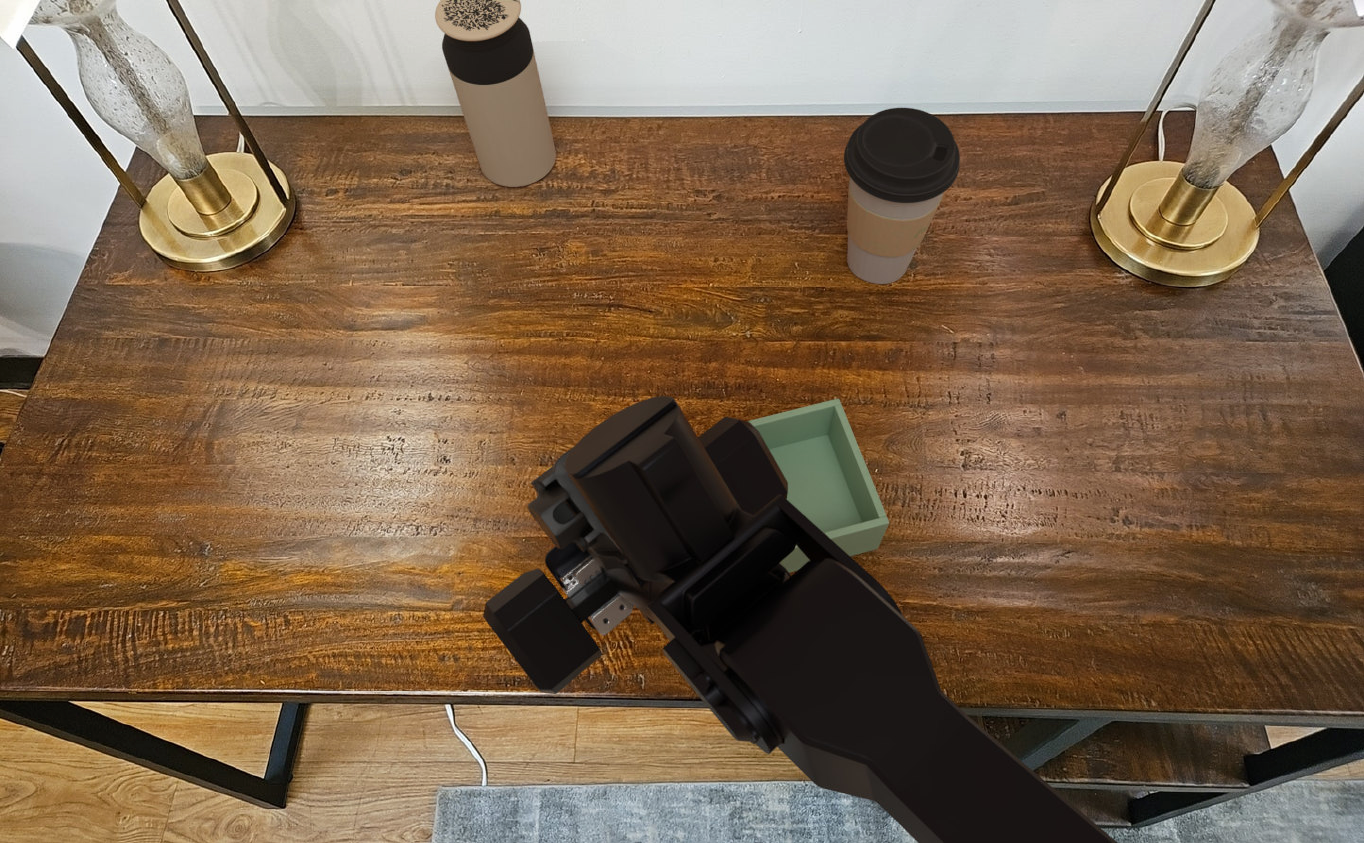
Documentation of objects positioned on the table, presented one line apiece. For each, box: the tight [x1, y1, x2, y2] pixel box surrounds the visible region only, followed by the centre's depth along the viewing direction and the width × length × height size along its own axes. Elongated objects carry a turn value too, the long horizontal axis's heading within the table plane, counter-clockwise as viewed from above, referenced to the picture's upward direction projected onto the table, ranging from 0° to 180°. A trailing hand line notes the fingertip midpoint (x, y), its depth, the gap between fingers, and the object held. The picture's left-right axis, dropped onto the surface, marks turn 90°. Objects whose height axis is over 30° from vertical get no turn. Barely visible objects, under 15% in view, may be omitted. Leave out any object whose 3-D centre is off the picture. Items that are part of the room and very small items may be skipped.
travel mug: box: [434, 0, 557, 188], centre depth 85 cm, size 8×8×18 cm
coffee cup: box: [843, 107, 961, 285], centre depth 78 cm, size 9×9×15 cm
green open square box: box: [747, 398, 890, 574], centre depth 71 cm, size 11×11×6 cm
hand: (594, 517), depth 59 cm, fingers closed on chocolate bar, 3 cm apart
